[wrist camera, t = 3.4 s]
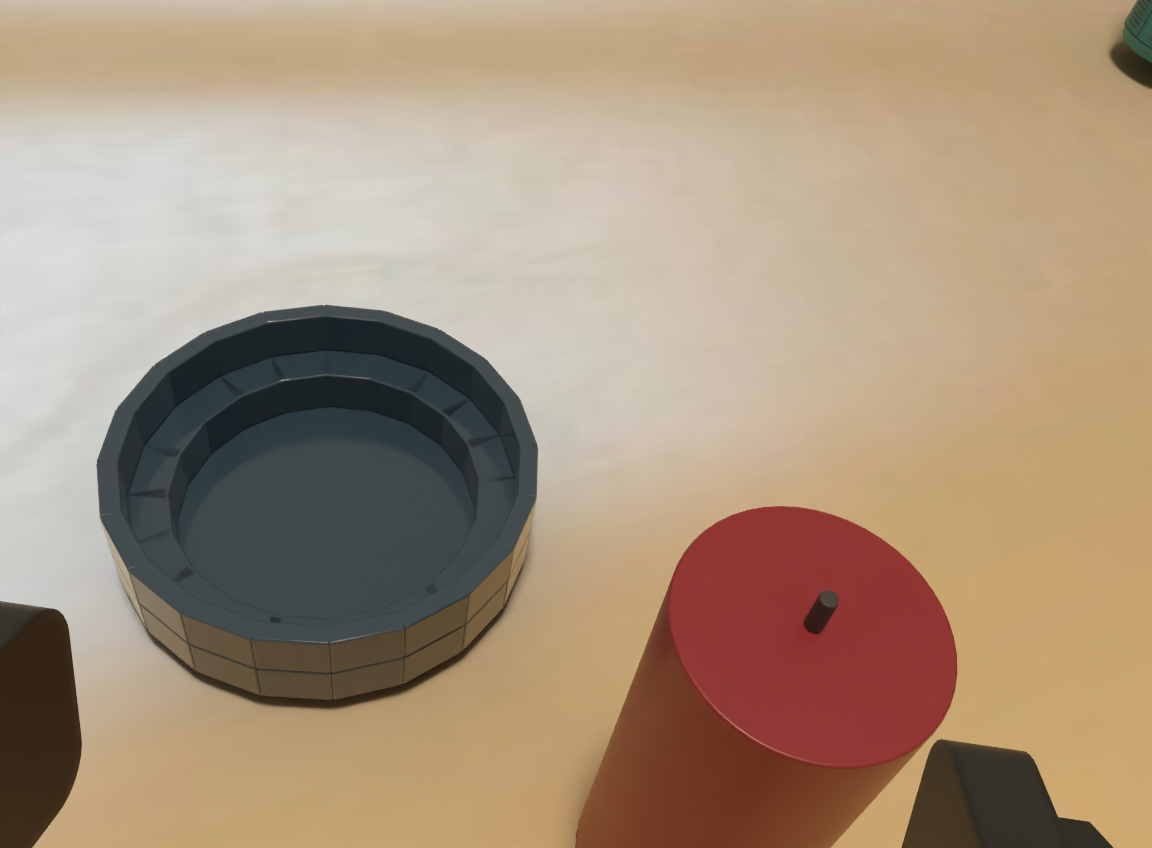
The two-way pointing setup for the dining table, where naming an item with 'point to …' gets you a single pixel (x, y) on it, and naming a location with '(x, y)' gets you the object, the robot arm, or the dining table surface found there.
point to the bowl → (318, 500)
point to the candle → (773, 689)
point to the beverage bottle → (1140, 29)
